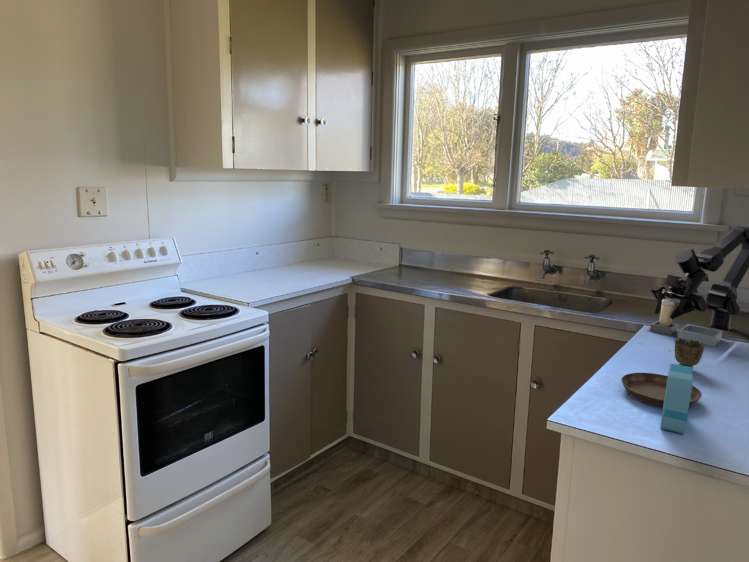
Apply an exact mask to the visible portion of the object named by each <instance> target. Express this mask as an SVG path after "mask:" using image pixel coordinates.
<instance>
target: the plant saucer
mask: <svg viewBox="0 0 749 562" xmlns="http://www.w3.org/2000/svg"><path fill="white" fill-rule="evenodd" d="M667 379H668V375H664V374H660V373H654V372H653V373H652V372H632V373H627V374H625V375H623V376H622V377H621V379H620V380H621V383H622V385H623V387H624V389H625V390H626V392H627V394H629V395H630V397H632V398H634V399H635V400H638V401H640V402H642V403H645V404H647V405H651V406H655V407H660V408H663V404H664V398H665V392H666V385H667ZM702 394H703V393H702V391H701V390H700V389H699V388H697V387H696V386H695V385H693V384H692V391H691V397H690V403H689V407H690V406H692V405H694V404H695V403H697V402H699V400H700V399H701V398H702V397H703V395H702Z"/></svg>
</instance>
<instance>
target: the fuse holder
mask: <svg viewBox="0 0 749 562" xmlns="http://www.w3.org/2000/svg"><path fill="white" fill-rule="evenodd" d="M645 332H648V333H653V334H658V335H663V336H666V337H671V338H675V337H678V333H679V324H675V323H672V322H671V326H670V327H666V326H661V325H659V320H656V321H654V322H652V323H650V326H649V328H648V329H647V330H645Z"/></svg>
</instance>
